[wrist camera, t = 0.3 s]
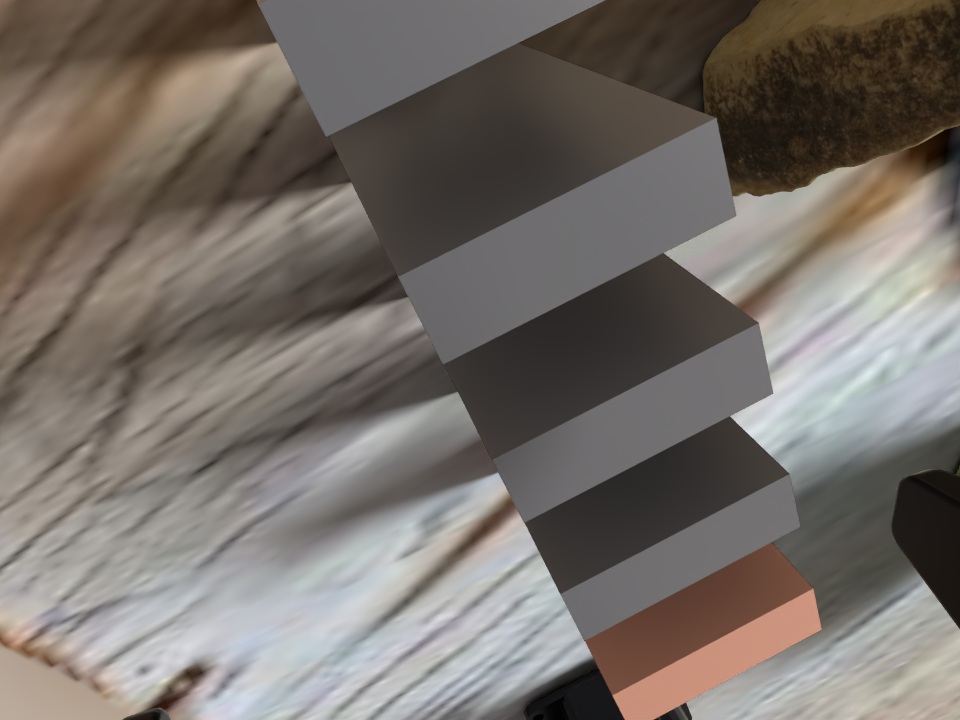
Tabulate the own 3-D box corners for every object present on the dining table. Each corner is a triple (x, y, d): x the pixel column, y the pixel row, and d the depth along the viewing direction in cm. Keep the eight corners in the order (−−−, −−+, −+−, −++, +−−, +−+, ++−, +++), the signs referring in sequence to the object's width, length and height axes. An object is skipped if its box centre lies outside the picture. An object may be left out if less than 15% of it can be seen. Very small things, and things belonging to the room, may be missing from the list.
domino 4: (600, 319, 24) (800, 526, 16) (459, 391, 24) (584, 640, 15) (586, 278, 23) (789, 473, 15) (439, 352, 23) (560, 594, 14)
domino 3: (565, 218, 22) (773, 393, 14) (410, 296, 22) (524, 522, 13) (548, 169, 21) (758, 323, 13) (386, 249, 21) (492, 460, 12)
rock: (1108, -437, 16) (724, -258, 14) (1511, -217, 13) (1089, 39, 11) (875, -10, 26) (636, 124, 24) (1073, 166, 23) (817, 330, 21)
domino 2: (523, 97, 20) (736, 216, 12) (352, 181, 20) (443, 364, 11) (502, 37, 19) (715, 117, 11) (323, 125, 19) (397, 276, 10)
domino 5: (630, 405, 26) (821, 629, 18) (500, 471, 26) (631, 731, 17) (618, 369, 25) (813, 588, 17) (483, 438, 25) (612, 695, 17)
